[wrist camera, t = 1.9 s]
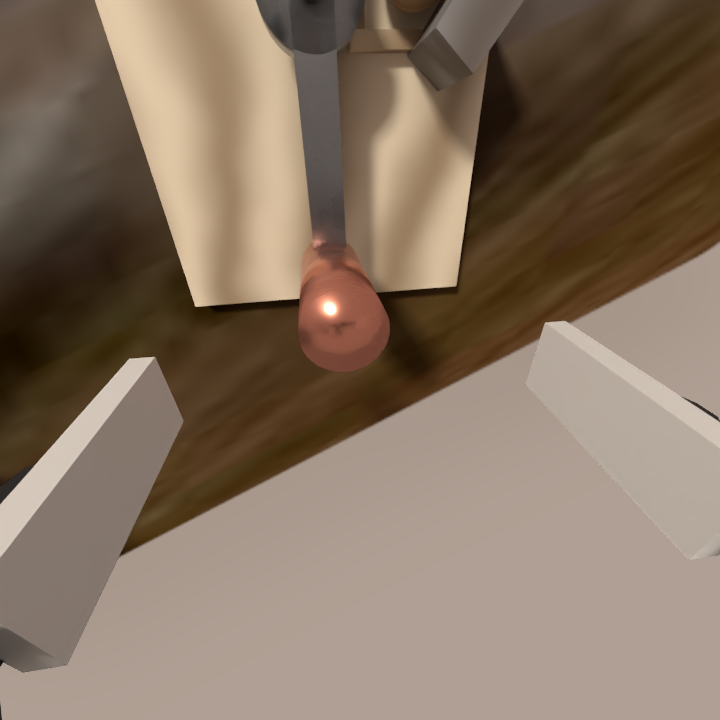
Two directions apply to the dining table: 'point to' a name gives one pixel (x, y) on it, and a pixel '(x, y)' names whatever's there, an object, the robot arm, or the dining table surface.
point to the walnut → (413, 4)
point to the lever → (327, 189)
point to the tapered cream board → (285, 145)
